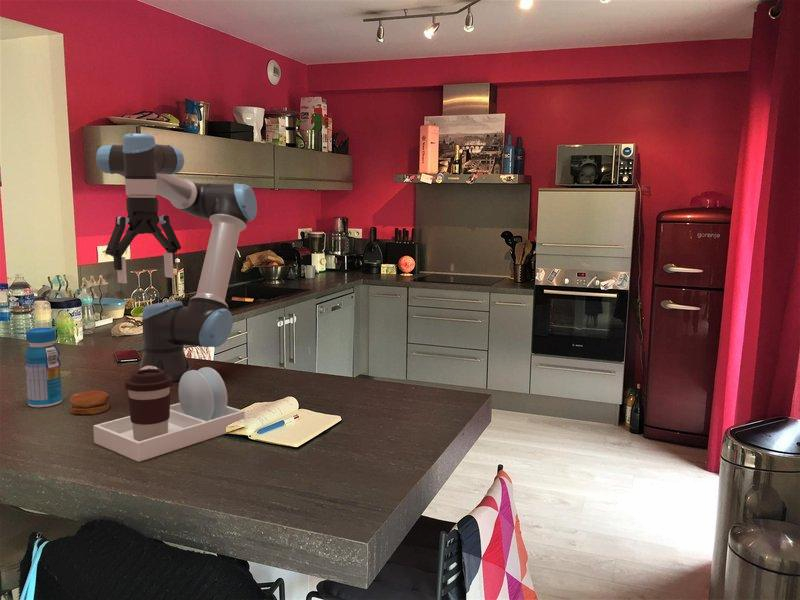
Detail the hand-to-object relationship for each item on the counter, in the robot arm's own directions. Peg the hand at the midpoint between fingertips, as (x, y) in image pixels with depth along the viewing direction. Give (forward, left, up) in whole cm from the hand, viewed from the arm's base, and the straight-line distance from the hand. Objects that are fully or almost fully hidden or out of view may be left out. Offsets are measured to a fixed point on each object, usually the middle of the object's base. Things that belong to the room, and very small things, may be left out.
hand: (146, 280), depth 169 cm
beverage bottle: (+17, -23, -34) cm, 44 cm away
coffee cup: (+15, +23, -33) cm, 43 cm away
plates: (+1, +24, -33) cm, 40 cm away
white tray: (+10, +24, -34) cm, 42 cm away
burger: (+12, -9, -34) cm, 37 cm away
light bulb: (+3, +4, -34) cm, 34 cm away
